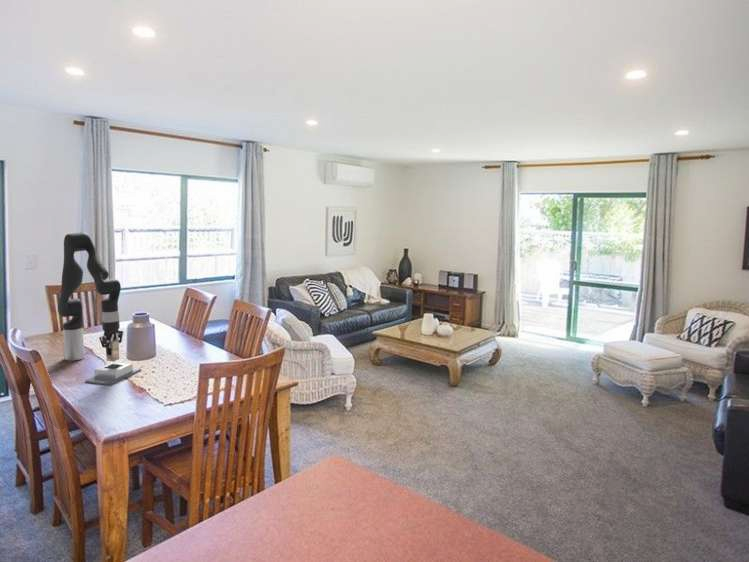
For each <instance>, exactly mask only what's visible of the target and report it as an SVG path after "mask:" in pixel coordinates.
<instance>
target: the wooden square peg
mask: <svg viewBox="0 0 749 562" xmlns="http://www.w3.org/2000/svg"><path fill="white" fill-rule="evenodd" d="M109 342H110V341H109ZM108 345H109V343H108ZM111 352H112V355H107V353H106V352H105V353H106V354H105V355H106V362H117V361H119V360H120V343H119V342H118V340H116V339H115V340H113V342H112V343H111Z"/></svg>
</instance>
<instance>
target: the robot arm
mask: <svg viewBox="0 0 749 562" xmlns="http://www.w3.org/2000/svg"><path fill="white" fill-rule="evenodd" d="M85 251H86V252H87V254H88V255H87V256H88V258H87V262H86V267H87V270H88V273H89V274H90V275H91V277H92V279H93V282H94V285H95V286H94V287H95V289H96V292H97V294H99V295H100V296H101V295H102V296H105V295H106V296H107V295H108V297H107V298H104V299H102V300H101V303H100V304H101V324H102V326H101V328H102V331H103V335H102V336H100V337H99V338H98V339H99V342H100V344H101V347H102V348H105V353H107V355H112V352H111V343H112V342H113V340H115V339H116V340H118V342H119V344H121V343H122V342H123V335H124V331H123V330H120V329H121V328H120V313H119V305H118V303H119V297H120V293H121V291H122V289H121V288H122V287H121V285H122V284H121V282H120V280H118V279H116V278H111V279H108V278H109V276H110V275H109V274H110V273H109V272H108V270H107V268H106V267H105V265H104V264H103V262H102V261H101V258H100V256H99V253H97V249H96V247H95V245H94V243H93V240H92V238H91V236H90V235H89V234H88V233H87V232H74V233H73V232H72V233H67V234H65V236H64V239H63V264H62V272H61V273H62V274H61V286H60V288H61V289H60V293H59V299H58V303H57V304H58V305H57V312H58V314H59V316H60V317H62V318H66V317H72V318H71V319H69V320H68V321H66V322H64V323H63V324H62V334H63V342H62V352H63V353H62V354H63V355H62V356H63V360H65V361H69V362H71V361H72V362H73V361H79V360H82V359H85V356H86V355H85V344H84V343H85V342H84V341H85V339H84V328H83V303H82V300H81V299H80V298H70V297H71V296H72V295H73V294H74V293H75V292H76V291H77V290H78V289H79V287H80V286H82V282H83V276H84V269H83V268H82V266H81V265H80V264H79V263H78V261H76V259H75V253H76V252H77V253H78V252H85ZM109 341H110V342H109ZM108 343H109V345H108Z"/></svg>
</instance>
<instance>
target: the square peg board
mask: <svg viewBox="0 0 749 562" xmlns="http://www.w3.org/2000/svg"><path fill="white" fill-rule="evenodd" d="M141 371H142V368H139V367H134V366H133V363H127V362H125V363H124V362H117V361H109V362H108V363H105V364H103V365H101V366H99V367H96V368H93V374H94V376H91V377H90V378H87V379H85V380H84V383H87V384H97V385H104V386H112V385H114V384H116V383H118V382H120V381H122V380H124V379H126V378H128V377H131V376H132V375H134V374H137V373H140V372H141ZM130 375H131V376H130Z"/></svg>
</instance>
